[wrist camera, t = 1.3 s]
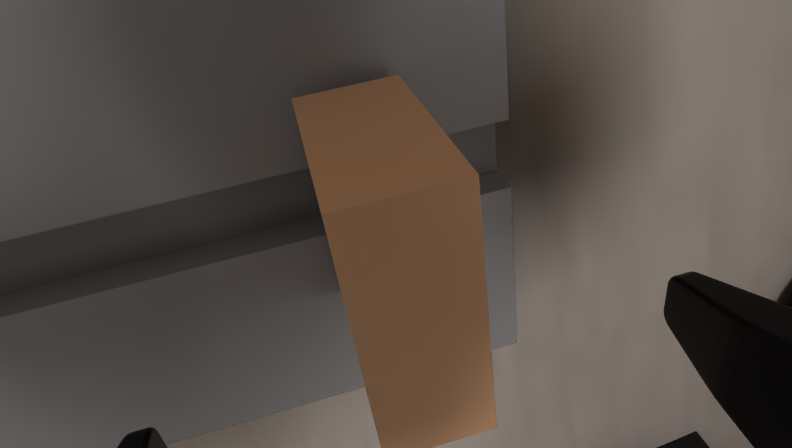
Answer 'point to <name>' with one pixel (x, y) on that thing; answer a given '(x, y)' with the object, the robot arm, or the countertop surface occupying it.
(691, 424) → the countertop surface
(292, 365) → the console
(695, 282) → the robot arm
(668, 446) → the cleaning product box
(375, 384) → the tan rectangular block
